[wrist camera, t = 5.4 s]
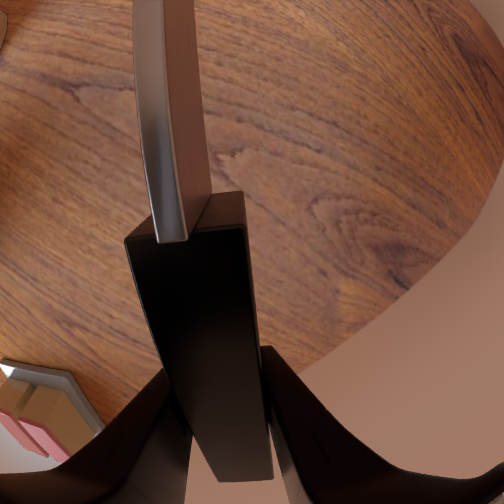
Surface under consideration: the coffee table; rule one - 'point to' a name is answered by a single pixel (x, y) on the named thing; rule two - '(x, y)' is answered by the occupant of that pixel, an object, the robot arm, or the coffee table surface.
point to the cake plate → (57, 384)
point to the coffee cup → (2, 27)
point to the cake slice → (55, 423)
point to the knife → (195, 255)
